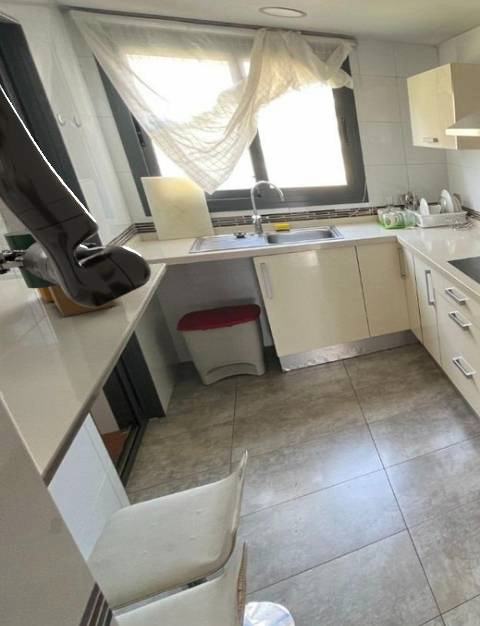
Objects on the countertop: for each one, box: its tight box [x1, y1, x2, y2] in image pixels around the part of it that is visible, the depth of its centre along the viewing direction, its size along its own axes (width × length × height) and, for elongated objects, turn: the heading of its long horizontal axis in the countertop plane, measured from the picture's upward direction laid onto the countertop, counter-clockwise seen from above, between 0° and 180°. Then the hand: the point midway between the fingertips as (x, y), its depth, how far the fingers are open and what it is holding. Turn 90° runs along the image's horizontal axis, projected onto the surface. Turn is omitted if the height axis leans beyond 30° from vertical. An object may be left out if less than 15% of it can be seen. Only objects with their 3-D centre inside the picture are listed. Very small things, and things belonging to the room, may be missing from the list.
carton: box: [48, 285, 116, 317], centre depth 108 cm, size 12×9×9 cm
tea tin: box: [3, 229, 58, 289], centre depth 86 cm, size 5×5×10 cm
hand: (29, 251), depth 87 cm, fingers closed on tea tin, 5 cm apart
